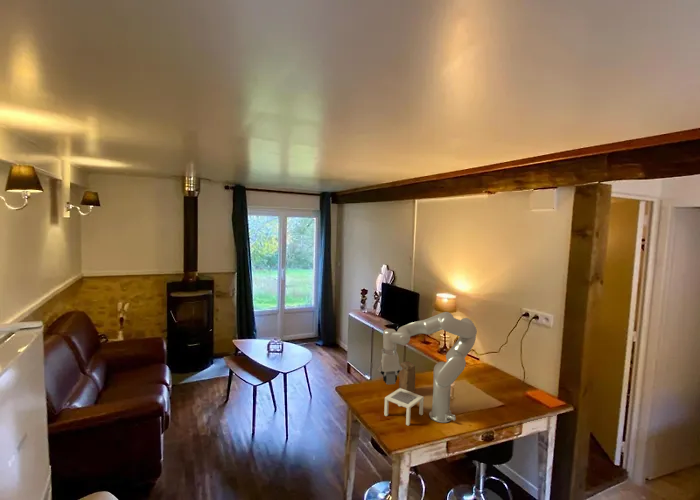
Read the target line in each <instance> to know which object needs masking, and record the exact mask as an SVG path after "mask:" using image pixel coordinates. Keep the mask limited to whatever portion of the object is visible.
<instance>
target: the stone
mask: <svg viewBox="0 0 700 500" xmlns="http://www.w3.org/2000/svg"><path fill="white" fill-rule="evenodd" d="M385 384H386V385H396V382H395V372H394V371H392V372H386V383H385Z"/></svg>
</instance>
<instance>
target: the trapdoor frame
mask: <svg viewBox="0 0 700 500" xmlns="http://www.w3.org/2000/svg"><path fill="white" fill-rule="evenodd" d="M400 392H404V393H407V394H409V395H412V396H415V397H417V398H416V399H414V400H413V401H412V402H410V403H409V404H406V403H404V402H401V401H398V400H396V399H393V398H392V397H394V396H395V395H397V394H398V393H400ZM424 400H425V399H424V395H423V396H422V395H420V394H418V393H415V392H414V393H412V392H409V391H407V390H404V389H401V388H399V387H398V388H397V389H396V390H395V391H392V392H391V393H389V394H388V395H386V396H385V397H384V409H383V410H384V411H383V413H384V415H383V416H385V417H387V416H389V403H393V404H395V405H397V406H398V407H403V408H406V410H405V411H406V414H405V417H406V418H405V425H406V426H410V425H411V410H412V409H411V408H412V407H414V406H415V405H417V404H418V403H419V409H418V410H419V411H418V415H420V416H422V415H423V414H424Z"/></svg>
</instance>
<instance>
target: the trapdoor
mask: <svg viewBox="0 0 700 500" xmlns="http://www.w3.org/2000/svg"><path fill="white" fill-rule="evenodd" d="M392 398H393V399H396V400H398V401H401V402H404V403H406V404H409V403H410V402H412V401H413V400H414V399H416V398H417V397H415V396H412V395H409V394H407V393H404V392H400V393H398V394H397V395H395V396H394V397H392Z"/></svg>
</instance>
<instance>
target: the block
mask: <svg viewBox="0 0 700 500" xmlns="http://www.w3.org/2000/svg"><path fill="white" fill-rule="evenodd" d="M399 365H400V366H401V367H402V368H403V369H402V370H401V371H400V372H399V373H398V377H399V379H398V382H399V383H398V389H399V388H401V389H404V390H407V391H409V392H412V393H415V391H416V389H415V388H416V366H415V364H414V363H413V362H411V361H402V362H401V363H400V364H399Z"/></svg>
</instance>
